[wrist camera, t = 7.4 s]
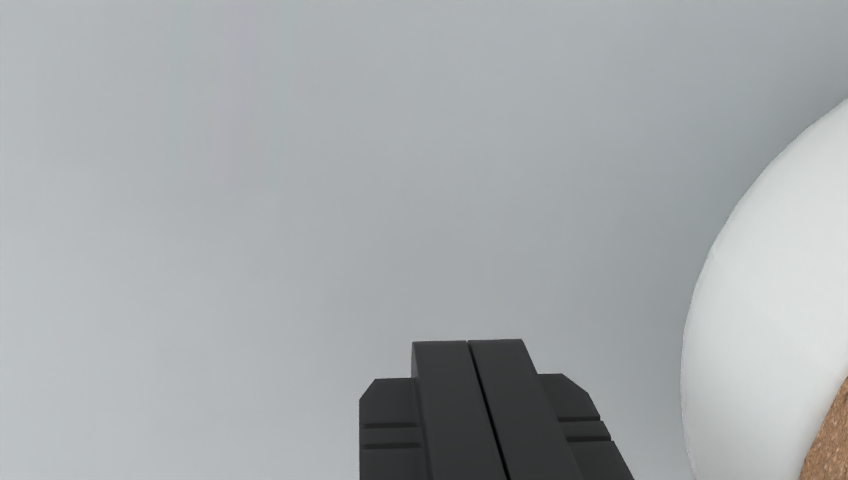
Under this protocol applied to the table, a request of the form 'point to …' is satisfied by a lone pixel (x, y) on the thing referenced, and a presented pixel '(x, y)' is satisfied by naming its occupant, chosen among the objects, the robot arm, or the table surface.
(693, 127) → the table surface
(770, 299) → the trinket box
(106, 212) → the table surface
